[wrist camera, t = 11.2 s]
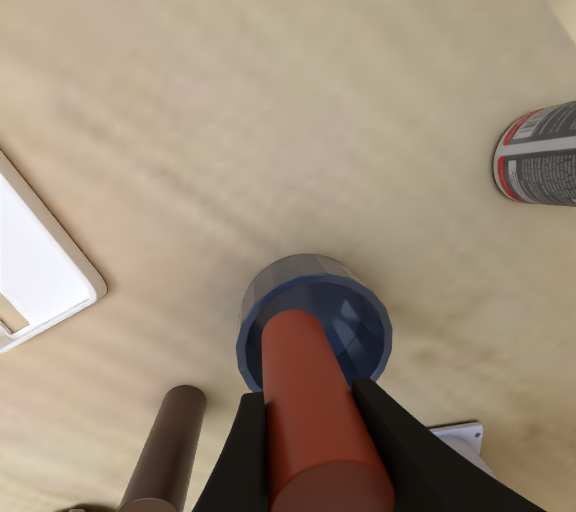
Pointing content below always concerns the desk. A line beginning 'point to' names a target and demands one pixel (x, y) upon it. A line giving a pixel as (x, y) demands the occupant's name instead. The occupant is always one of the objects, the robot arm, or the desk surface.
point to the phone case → (38, 262)
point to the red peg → (315, 426)
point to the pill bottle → (539, 157)
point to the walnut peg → (167, 455)
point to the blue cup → (316, 315)
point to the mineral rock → (77, 510)
